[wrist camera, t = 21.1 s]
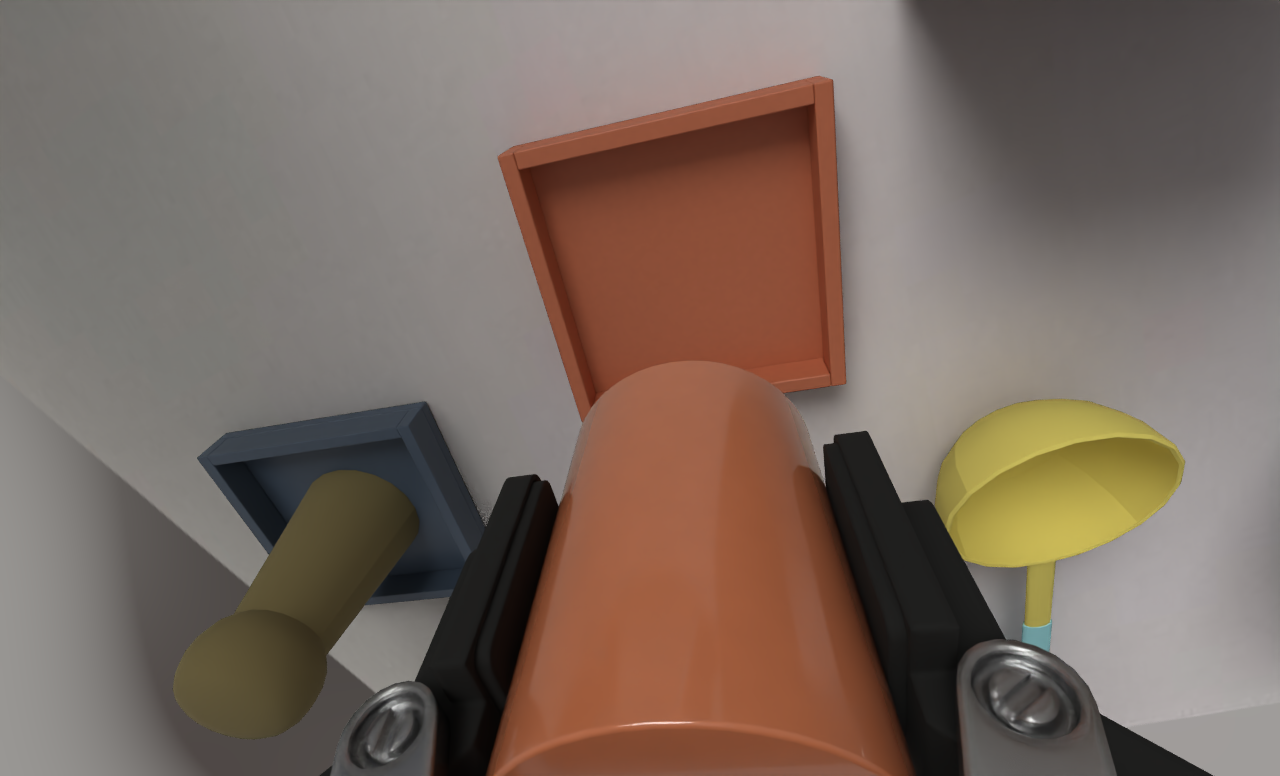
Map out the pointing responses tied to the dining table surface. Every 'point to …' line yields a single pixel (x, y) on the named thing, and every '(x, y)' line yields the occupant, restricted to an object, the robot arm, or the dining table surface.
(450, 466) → the slate tray
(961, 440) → the ladle
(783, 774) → the terracotta jar
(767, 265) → the terracotta tray
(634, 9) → the dining table surface
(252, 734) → the pepper shaker
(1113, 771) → the robot arm
